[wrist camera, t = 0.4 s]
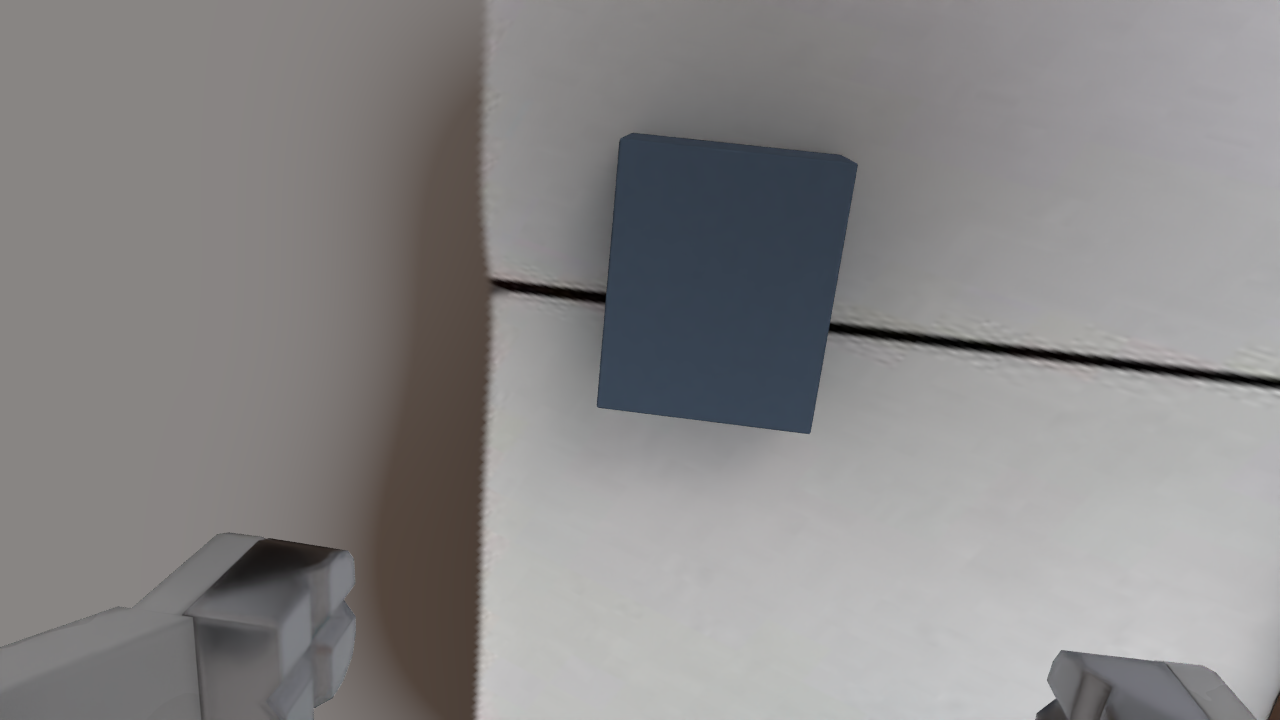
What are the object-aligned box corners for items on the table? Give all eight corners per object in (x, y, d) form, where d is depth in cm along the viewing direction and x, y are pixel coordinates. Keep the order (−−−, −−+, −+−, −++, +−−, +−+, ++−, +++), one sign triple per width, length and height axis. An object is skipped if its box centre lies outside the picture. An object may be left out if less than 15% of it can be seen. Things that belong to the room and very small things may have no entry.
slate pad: (630, 132, 25) (619, 137, 23) (842, 155, 25) (858, 163, 22) (608, 375, 28) (596, 408, 25) (801, 399, 28) (810, 435, 25)
